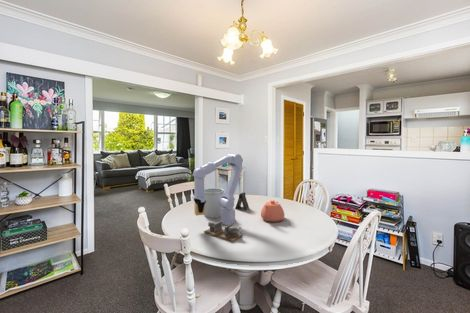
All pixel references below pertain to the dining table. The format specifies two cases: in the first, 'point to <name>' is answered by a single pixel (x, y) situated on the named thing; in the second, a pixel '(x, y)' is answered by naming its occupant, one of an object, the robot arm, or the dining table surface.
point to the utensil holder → (213, 202)
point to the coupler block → (198, 211)
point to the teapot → (272, 211)
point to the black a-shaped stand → (242, 200)
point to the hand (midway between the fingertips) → (199, 211)
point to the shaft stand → (223, 231)
